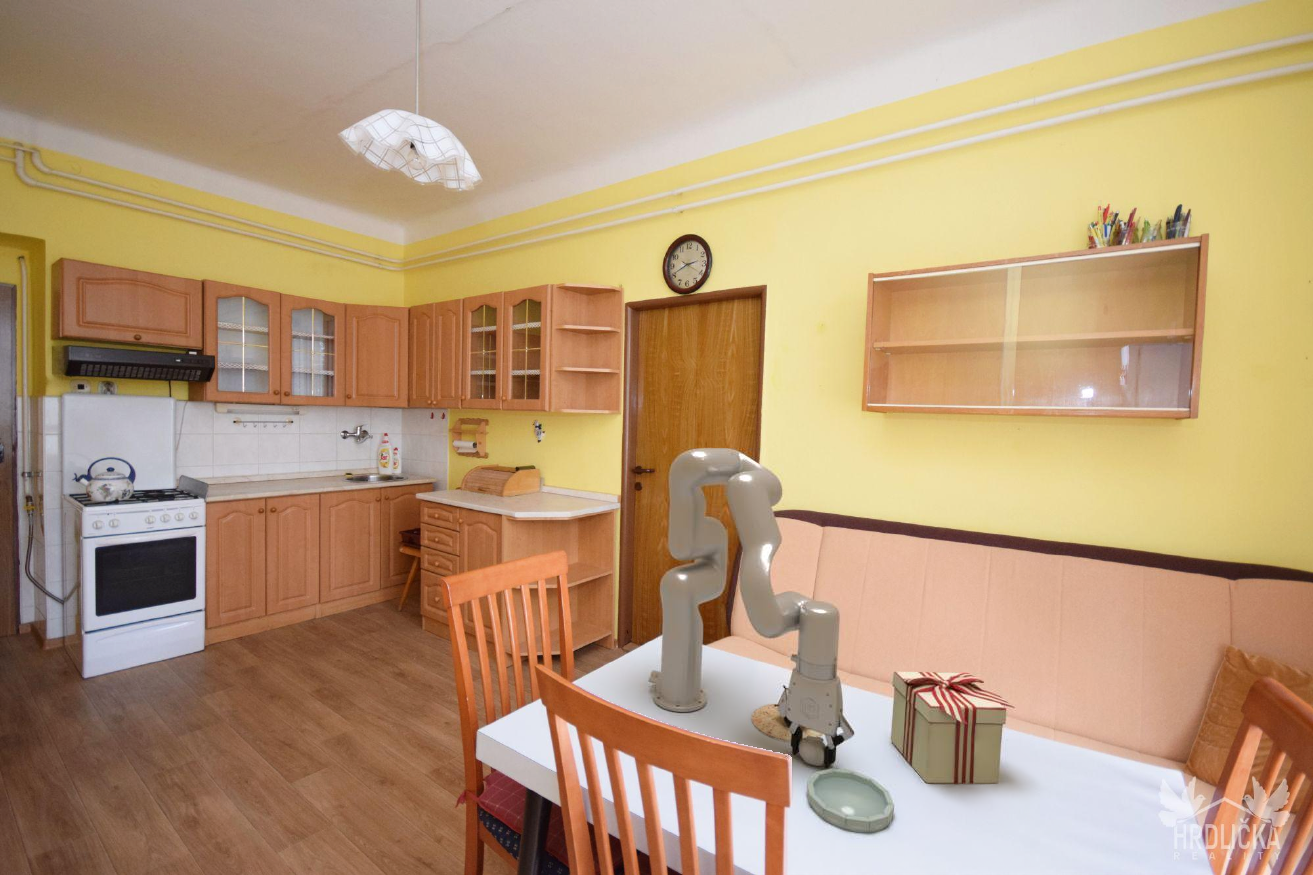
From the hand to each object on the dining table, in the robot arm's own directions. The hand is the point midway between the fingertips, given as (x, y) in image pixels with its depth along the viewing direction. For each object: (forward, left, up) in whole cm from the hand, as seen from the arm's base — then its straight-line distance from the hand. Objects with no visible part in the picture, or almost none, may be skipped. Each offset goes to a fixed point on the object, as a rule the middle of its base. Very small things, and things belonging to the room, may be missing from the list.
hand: (812, 757), depth 113 cm
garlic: (0, 0, -1) cm, 1 cm away
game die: (-9, +12, -1) cm, 15 cm away
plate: (+10, -8, -1) cm, 13 cm away
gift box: (+21, +17, -1) cm, 27 cm away
